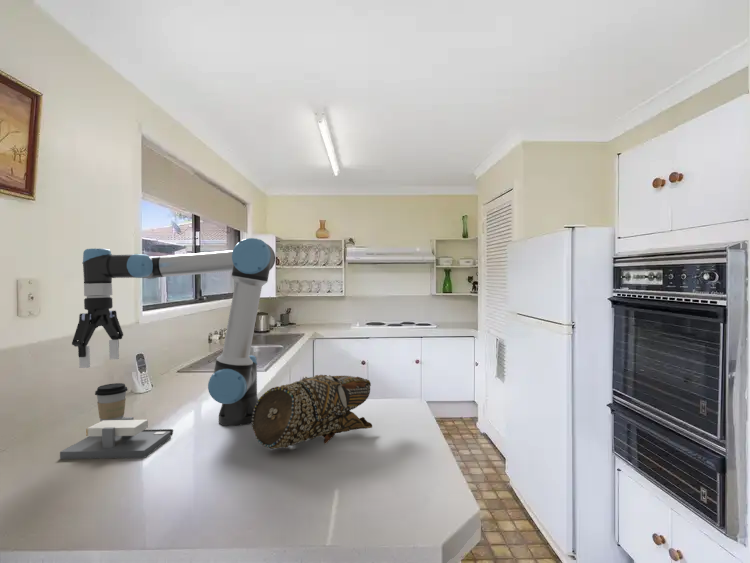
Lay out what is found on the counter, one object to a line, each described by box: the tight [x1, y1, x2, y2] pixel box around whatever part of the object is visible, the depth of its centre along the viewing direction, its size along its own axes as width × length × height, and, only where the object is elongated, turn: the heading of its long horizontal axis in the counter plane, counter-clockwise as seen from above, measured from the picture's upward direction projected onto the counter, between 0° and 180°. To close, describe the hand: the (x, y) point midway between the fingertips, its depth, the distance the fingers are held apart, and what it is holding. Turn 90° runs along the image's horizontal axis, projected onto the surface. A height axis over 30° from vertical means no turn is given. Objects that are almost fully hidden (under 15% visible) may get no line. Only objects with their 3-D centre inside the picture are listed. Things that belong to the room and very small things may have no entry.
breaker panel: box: [59, 416, 172, 460], centre depth 123 cm, size 24×15×8 cm, turn 90°
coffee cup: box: [94, 382, 129, 422], centre depth 139 cm, size 9×9×15 cm
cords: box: [141, 428, 174, 436], centre depth 134 cm, size 17×3×1 cm, turn 90°
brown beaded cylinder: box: [251, 374, 373, 449], centre depth 128 cm, size 24×22×35 cm
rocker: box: [85, 419, 149, 437], centre depth 123 cm, size 14×7×2 cm, turn 90°
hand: (100, 363), depth 131 cm, fingers open, 13 cm apart
